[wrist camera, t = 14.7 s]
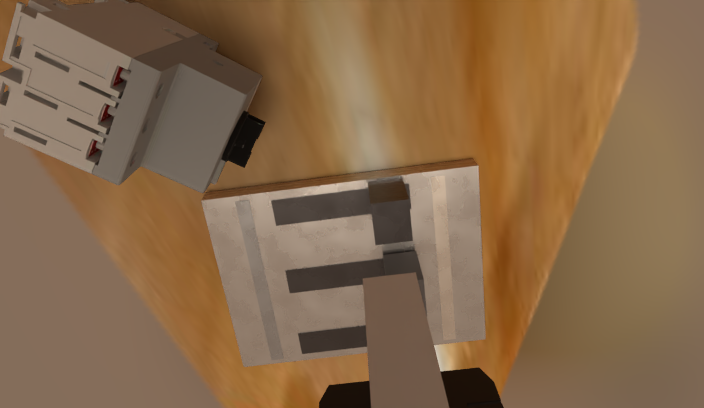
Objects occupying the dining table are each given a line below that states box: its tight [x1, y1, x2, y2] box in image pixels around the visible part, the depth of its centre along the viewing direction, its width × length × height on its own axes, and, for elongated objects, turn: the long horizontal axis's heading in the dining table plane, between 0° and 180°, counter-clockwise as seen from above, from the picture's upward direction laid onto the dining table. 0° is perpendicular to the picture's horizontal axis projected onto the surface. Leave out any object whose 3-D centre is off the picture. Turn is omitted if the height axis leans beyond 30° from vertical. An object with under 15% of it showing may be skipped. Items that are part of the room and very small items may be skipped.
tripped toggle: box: [383, 251, 427, 316], centre depth 47 cm, size 4×3×5 cm
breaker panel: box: [201, 158, 485, 367], centre depth 48 cm, size 18×24×7 cm
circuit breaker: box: [0, 0, 265, 193], centre depth 38 cm, size 8×14×15 cm, turn 63°
